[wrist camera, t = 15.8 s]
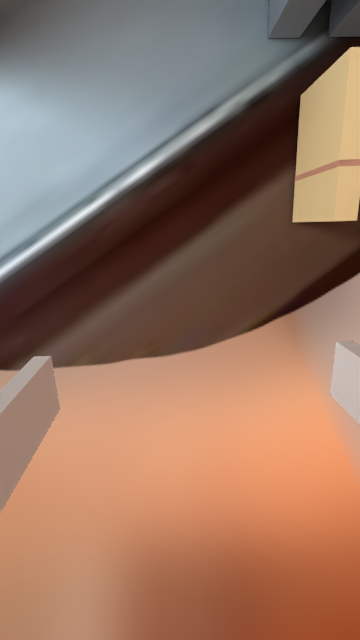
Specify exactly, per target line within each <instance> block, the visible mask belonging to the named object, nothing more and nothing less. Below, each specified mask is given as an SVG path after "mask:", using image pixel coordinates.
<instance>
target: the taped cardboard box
mask: <svg viewBox="0 0 360 640" xmlns="http://www.w3.org/2000/svg"><path fill="white" fill-rule="evenodd" d="M359 199H360V47H351V48H350V49H349V50H348V51H346V52H345V53H344V54H343V55H342V56H341V57H340V58H339V59H338V60H337V61H336V62H335V63H334V64H333V65H332V66H331V67H330V68H329V69H328V70H327V71H326V72H325V73H324V74H323V75H321V76H320V77H319V78H318V79H317V80H316V81H315V82H314V83H313V84H312V85H311V86H310V87H309V88H308V89H307V90H306V91H305V92H304V93H303V94H302V95H301V99H300V115H299V130H298V145H297V161H296V176H295V191H294V206H293V222H325V221H355V220H357V215H358V207H359Z"/></svg>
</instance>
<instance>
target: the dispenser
mask: <svg viewBox="0 0 360 640" xmlns="http://www.w3.org/2000/svg"><path fill="white" fill-rule="evenodd" d="M325 1H326V0H269V20H268V38H299V37H300V36H301V35H302V33H303V32H304V30H305V29H306V28H307V26H308V25H309V23H310V22H311V21H312V19H313V18H314V16H315V15H316V14H317V12H318V11H319V9H320V8H321V7H322V5H323V4H324V2H325ZM359 36H360V0H331V11H330V23H329V35H328V37H359Z"/></svg>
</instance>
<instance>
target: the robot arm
mask: <svg viewBox="0 0 360 640" xmlns="http://www.w3.org/2000/svg"><path fill="white" fill-rule="evenodd" d="M330 394H331V395H332V397H333V398H334V399H335V400H337V402H338V403H339V404H340V405H341V406H342V407H343V408H344V409H345V410H346V411H347V412H348V413H349V414H350V415H351V416H352V417H353V418H354V419H355V420H356V421H357V422H358V423H359V424H360V345H358V344H357V343H355V342H354V341H341V342H336V350H335V358H334V367H333V376H332V384H331V393H330ZM59 410H60V407H59V401H58V395H57V389H56V383H55V377H54V371H53V365H52V359H51V356H40V357H33V358H32V359H31V360H30V361H29V362H28V363H27V364H26V365H25V366H24V367H23V368H22V369H21V370H20V371H19V372H18V373H17V374H16V375H15V376H14V377H13V378H12V379H11V380H10V381H9V382H8V383H7V384H6V385H5V386H4V387H3V388H2V389H1V390H0V513H1V511H2V509H3V508H4V506H5V504H6V502H7V501H8V499H9V497H10V496H11V494H12V492H13V490H14V488H15V487H16V485H17V483H18V482H19V480H20V478H21V476H22V475H23V473H24V471H25V469H26V468H27V465H28V464H29V462H30V461H31V459H32V457H33V455H34V454H35V452H36V450H37V448H38V447H39V445H40V443H41V441H42V440H43V438H44V436H45V434H46V433H47V431H48V429H49V427H50V426H51V424H52V422H53V421H54V419H55V417H56V415H57V414H58V412H59Z"/></svg>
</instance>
